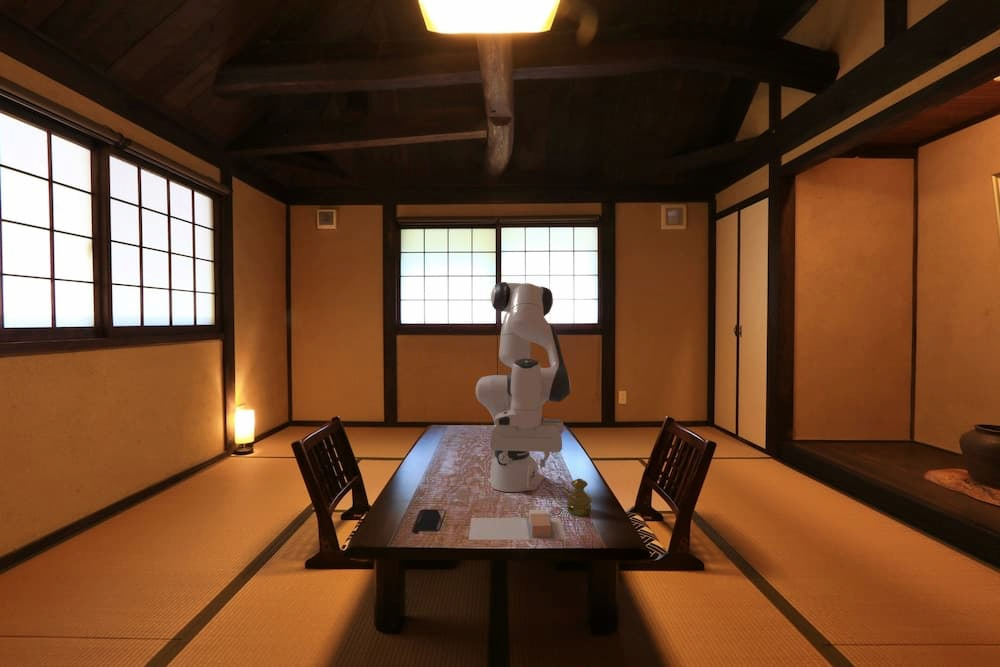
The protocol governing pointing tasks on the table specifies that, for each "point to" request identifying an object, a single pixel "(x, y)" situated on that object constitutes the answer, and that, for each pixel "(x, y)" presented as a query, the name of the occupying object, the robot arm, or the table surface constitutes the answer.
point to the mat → (511, 529)
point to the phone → (428, 521)
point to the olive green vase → (579, 499)
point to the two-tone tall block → (540, 523)
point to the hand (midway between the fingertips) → (526, 465)
